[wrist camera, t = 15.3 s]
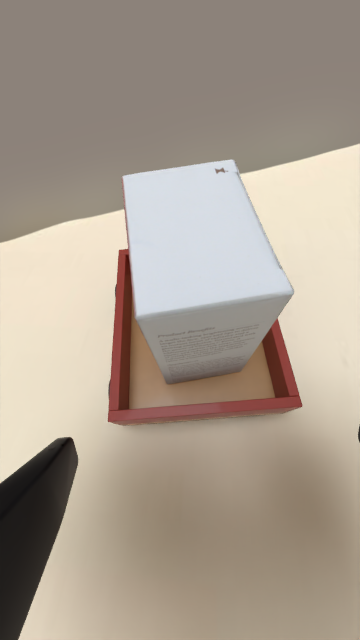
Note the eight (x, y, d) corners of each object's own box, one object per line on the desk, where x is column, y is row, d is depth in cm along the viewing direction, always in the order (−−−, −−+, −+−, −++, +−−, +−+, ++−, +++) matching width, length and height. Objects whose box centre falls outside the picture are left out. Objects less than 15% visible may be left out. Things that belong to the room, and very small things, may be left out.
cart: (289, 414, 18) (317, 405, 14) (116, 427, 18) (93, 423, 14) (244, 238, 26) (253, 200, 22) (125, 249, 26) (112, 214, 22)
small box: (153, 294, 21) (118, 171, 11) (217, 283, 21) (235, 153, 12) (165, 387, 17) (129, 319, 8) (243, 374, 17) (299, 290, 8)
